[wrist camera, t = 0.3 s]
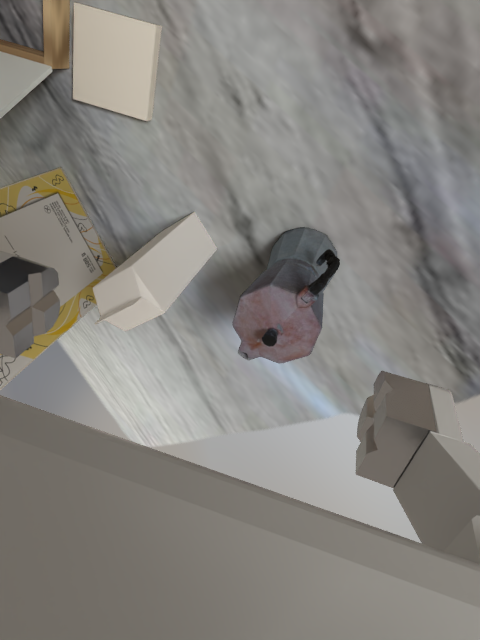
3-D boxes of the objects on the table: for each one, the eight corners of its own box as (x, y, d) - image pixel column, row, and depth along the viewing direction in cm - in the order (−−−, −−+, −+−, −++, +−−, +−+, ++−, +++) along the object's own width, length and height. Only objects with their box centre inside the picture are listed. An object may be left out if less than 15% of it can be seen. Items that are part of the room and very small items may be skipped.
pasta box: (123, 280, 68) (-6, 394, 45) (73, 296, 72) (-68, 408, 49) (61, 166, 61) (-130, 232, 38) (10, 191, 65) (-190, 264, 42)
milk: (218, 248, 61) (154, 329, 43) (185, 265, 64) (112, 348, 46) (194, 210, 59) (116, 278, 41) (161, 230, 62) (74, 302, 44)
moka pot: (245, 275, 62) (199, 353, 46) (311, 186, 54) (284, 243, 37) (298, 313, 63) (272, 404, 47) (372, 232, 55) (372, 307, 38)
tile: (81, 3, 50) (74, 2, 49) (161, 26, 49) (156, 25, 48) (79, 98, 56) (72, 98, 54) (151, 119, 55) (146, 121, 53)
